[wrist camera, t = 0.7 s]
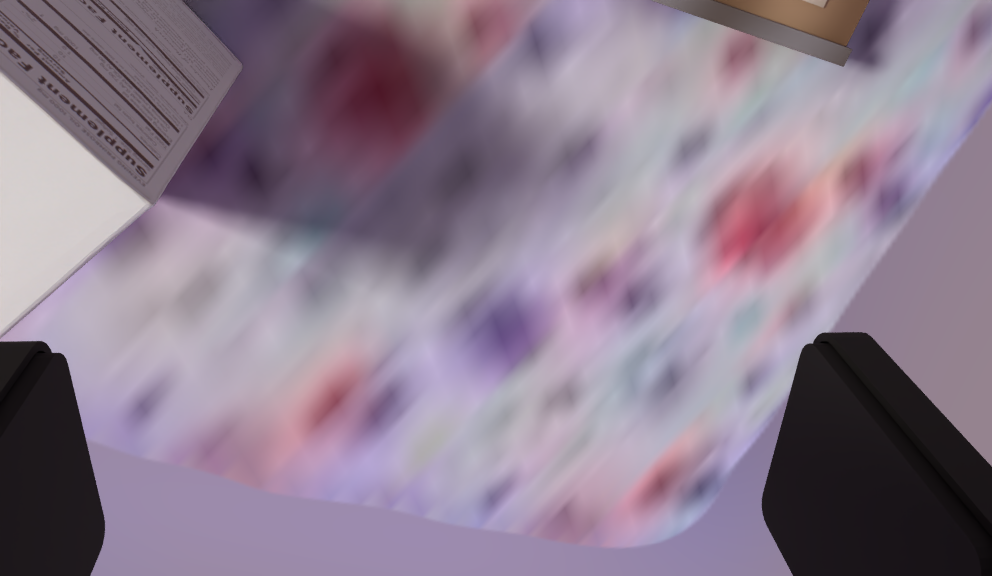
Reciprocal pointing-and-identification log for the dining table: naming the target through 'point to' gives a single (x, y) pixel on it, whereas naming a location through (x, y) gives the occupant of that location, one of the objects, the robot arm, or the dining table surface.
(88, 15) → the supplement box
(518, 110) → the dining table surface
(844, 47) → the dock
